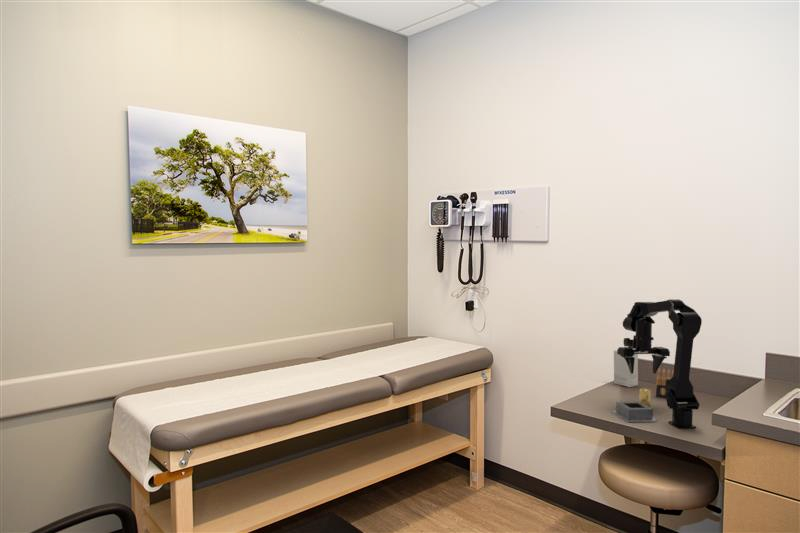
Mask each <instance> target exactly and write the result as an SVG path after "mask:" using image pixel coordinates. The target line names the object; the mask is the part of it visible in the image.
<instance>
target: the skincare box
mask: <svg viewBox="0 0 800 533" xmlns="http://www.w3.org/2000/svg"><path fill="white" fill-rule="evenodd" d="M617 350H618V348H617V349H614V350H613V384H616V385H620V386H624V387H628V388H632V387H637V386H638V385H639V371H638V370H639V367H638V366H639V364H638V363H639V362H638V360H639V354H634V355H633V356H632V357H635V360H634V371H633V374H631V373H630V370H629V367H628V365H627V362H626V360H625V359H624V357H621V355H619V354H617Z"/></svg>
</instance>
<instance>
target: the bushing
mask: <svg viewBox="0 0 800 533" xmlns="http://www.w3.org/2000/svg"><path fill="white" fill-rule="evenodd" d="M638 397H639V399H638V400H639V401H638V402H641V403H643V404H645V405H646V406H648V407H650V408H652V407H651V401H652V398H651V397H652V390H651V389H649V388H639V396H638Z"/></svg>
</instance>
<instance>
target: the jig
mask: <svg viewBox="0 0 800 533" xmlns="http://www.w3.org/2000/svg"><path fill="white" fill-rule="evenodd" d="M611 413H612V414H614V415H615V416H617V417H618V418H620V419H622V420H623V421H624V422H626V423H656V422H658V419H656V418H654V409H653V408H652V407H648V406H646V405H645V404H643V403H641V402H639V401H616V402H615V410H611Z"/></svg>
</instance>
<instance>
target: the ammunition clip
mask: <svg viewBox="0 0 800 533" xmlns="http://www.w3.org/2000/svg"><path fill="white" fill-rule="evenodd" d="M661 372H662V373H661ZM673 373H674V368H673V369H672V371H671V370H670V368H668V369H667V371H666V369H665V368H663V369H662V371H661V368H660V367H659V368H658V370H657V372H656V374H657V376H656V384H655V385H656V386H655V388H656V389H655V397H657V398H664V399H666V395H665V392H666V390H665V388H666V380H667V379H671V378H672V377H673Z"/></svg>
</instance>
